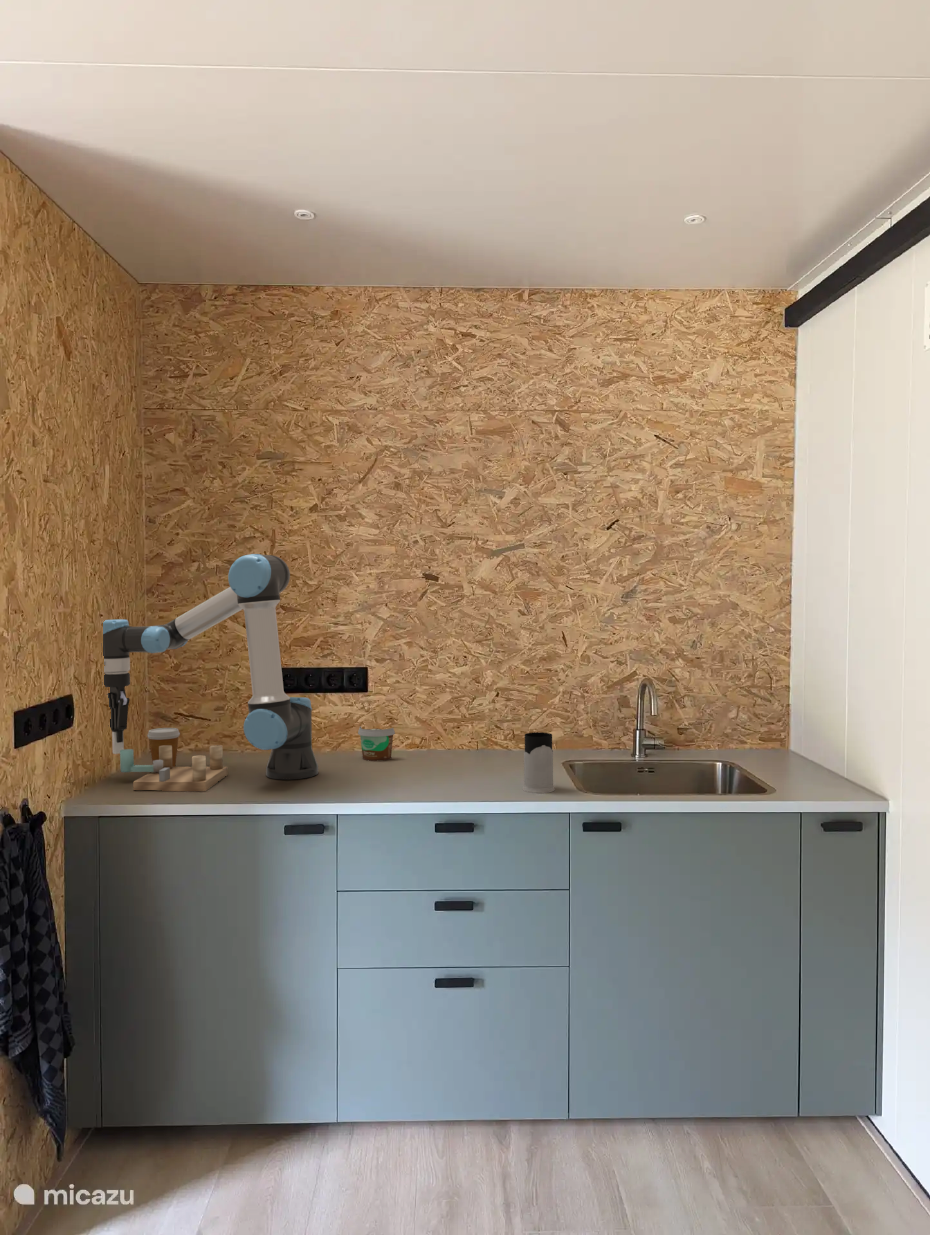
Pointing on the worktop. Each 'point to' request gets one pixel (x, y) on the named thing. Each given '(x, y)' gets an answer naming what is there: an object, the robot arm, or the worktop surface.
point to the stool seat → (186, 772)
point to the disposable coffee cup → (163, 741)
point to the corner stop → (164, 774)
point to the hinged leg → (129, 766)
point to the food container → (376, 743)
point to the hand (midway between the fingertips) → (118, 753)
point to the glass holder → (538, 763)
